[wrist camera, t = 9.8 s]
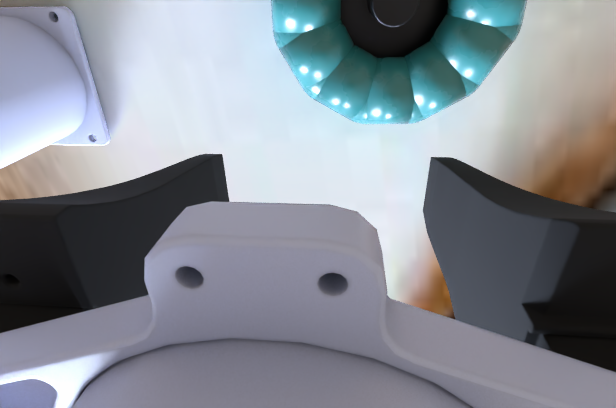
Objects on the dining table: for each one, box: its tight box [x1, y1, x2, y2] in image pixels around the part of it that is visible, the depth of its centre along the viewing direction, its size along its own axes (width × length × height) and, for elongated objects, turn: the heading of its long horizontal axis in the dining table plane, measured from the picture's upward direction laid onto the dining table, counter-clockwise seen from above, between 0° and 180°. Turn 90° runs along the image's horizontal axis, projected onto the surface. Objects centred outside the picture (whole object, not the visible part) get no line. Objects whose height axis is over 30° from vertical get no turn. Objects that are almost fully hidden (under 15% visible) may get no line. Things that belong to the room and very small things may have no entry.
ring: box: [271, 0, 527, 124], centre depth 16 cm, size 11×11×3 cm
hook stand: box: [341, 0, 448, 57], centre depth 16 cm, size 8×8×6 cm
